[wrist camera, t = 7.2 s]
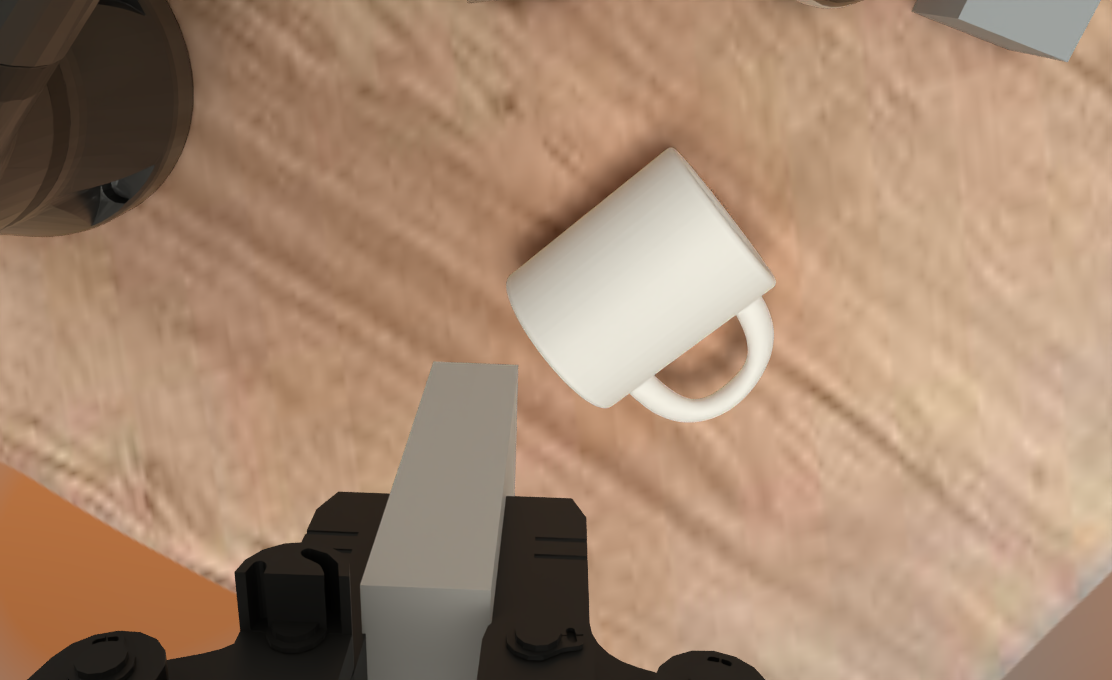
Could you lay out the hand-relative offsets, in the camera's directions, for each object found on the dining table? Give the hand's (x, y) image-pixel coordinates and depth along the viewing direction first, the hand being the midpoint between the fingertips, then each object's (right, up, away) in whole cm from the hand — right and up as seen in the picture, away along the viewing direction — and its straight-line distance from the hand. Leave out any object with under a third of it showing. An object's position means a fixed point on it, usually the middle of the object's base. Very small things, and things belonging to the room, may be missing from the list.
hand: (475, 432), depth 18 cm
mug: (+7, +5, +33) cm, 34 cm away
